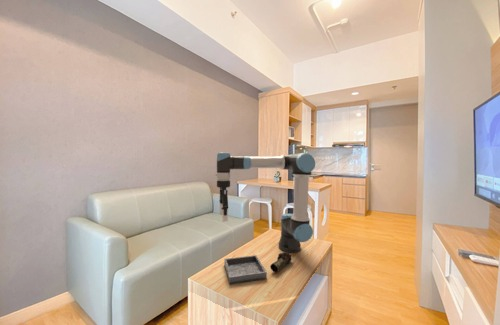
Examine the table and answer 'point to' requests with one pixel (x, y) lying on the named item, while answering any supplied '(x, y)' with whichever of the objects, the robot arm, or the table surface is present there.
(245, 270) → the grey square tray
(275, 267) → the metal pipe
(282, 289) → the table surface
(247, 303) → the table surface
